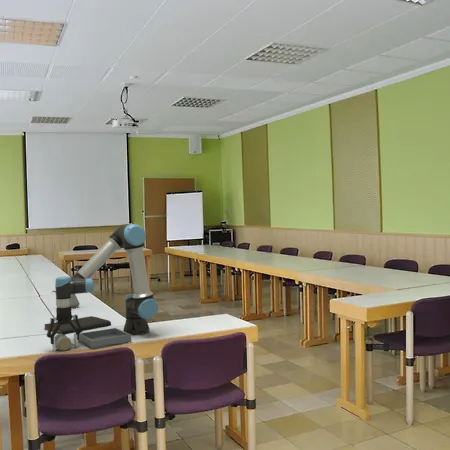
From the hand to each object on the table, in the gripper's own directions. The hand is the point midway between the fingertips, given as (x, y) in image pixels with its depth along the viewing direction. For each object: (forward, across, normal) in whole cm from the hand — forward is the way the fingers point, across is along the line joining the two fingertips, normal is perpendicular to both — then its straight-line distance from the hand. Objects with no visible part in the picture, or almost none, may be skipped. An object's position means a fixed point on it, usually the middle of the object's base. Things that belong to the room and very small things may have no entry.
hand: (65, 348), depth 272 cm
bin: (0, -22, -1) cm, 22 cm away
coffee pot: (+1, -38, -123) cm, 129 cm away
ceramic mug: (+1, 0, 0) cm, 1 cm away
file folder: (+1, -23, -49) cm, 54 cm away
